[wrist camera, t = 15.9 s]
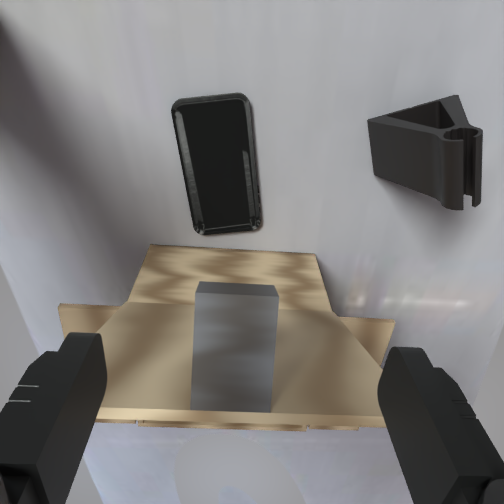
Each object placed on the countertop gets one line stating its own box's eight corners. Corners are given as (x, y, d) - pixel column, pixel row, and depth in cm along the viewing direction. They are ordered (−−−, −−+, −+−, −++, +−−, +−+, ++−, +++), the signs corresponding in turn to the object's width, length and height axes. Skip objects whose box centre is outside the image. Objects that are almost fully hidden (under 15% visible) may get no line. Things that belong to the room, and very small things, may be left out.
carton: (112, 350, 56) (83, 424, 46) (96, 241, 47) (56, 303, 37) (337, 360, 58) (357, 432, 48) (364, 256, 49) (396, 319, 38)
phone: (195, 235, 46) (168, 101, 38) (196, 231, 47) (170, 99, 39) (262, 229, 46) (249, 92, 38) (261, 224, 46) (249, 90, 39)
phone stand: (456, 94, 39) (533, 121, 29) (456, 151, 42) (525, 195, 32) (366, 119, 40) (409, 154, 30) (372, 173, 43) (413, 222, 33)
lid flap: (25, 416, 19) (22, 283, 18) (125, 307, 37) (126, 238, 36) (421, 428, 20) (439, 304, 19) (333, 317, 38) (339, 250, 37)
